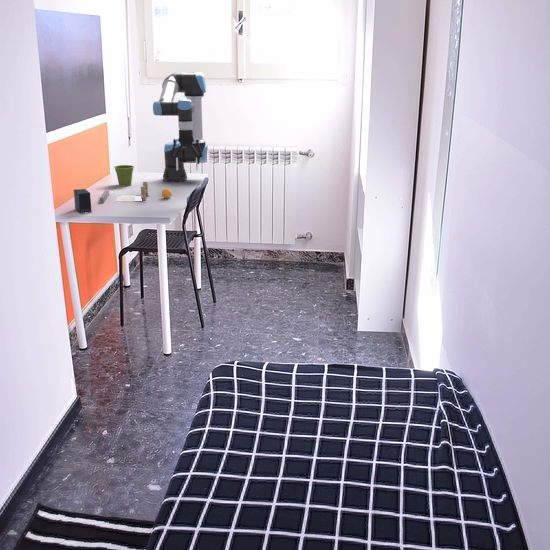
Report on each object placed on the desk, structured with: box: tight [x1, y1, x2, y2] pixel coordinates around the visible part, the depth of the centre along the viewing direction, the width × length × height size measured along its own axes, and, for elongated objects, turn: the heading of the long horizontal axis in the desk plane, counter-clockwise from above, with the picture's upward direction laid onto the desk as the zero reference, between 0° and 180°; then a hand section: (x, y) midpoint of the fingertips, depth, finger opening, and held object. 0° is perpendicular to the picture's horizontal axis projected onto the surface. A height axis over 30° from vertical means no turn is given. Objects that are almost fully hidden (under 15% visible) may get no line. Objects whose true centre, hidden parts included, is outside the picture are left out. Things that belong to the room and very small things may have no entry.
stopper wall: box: [99, 189, 110, 204], centre depth 368 cm, size 20×2×3 cm, turn 5°
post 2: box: [140, 185, 147, 202], centre depth 363 cm, size 2×2×8 cm
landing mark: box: [115, 194, 138, 203], centre depth 370 cm, size 14×14×1 cm
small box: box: [73, 188, 92, 214], centre depth 343 cm, size 11×6×10 cm, turn 29°
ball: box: [161, 188, 172, 199], centre depth 371 cm, size 6×6×6 cm
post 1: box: [142, 181, 149, 197], centre depth 375 cm, size 2×2×8 cm
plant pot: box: [113, 164, 135, 187], centre depth 400 cm, size 12×12×11 cm
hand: (187, 170), depth 367 cm, fingers open, 10 cm apart
